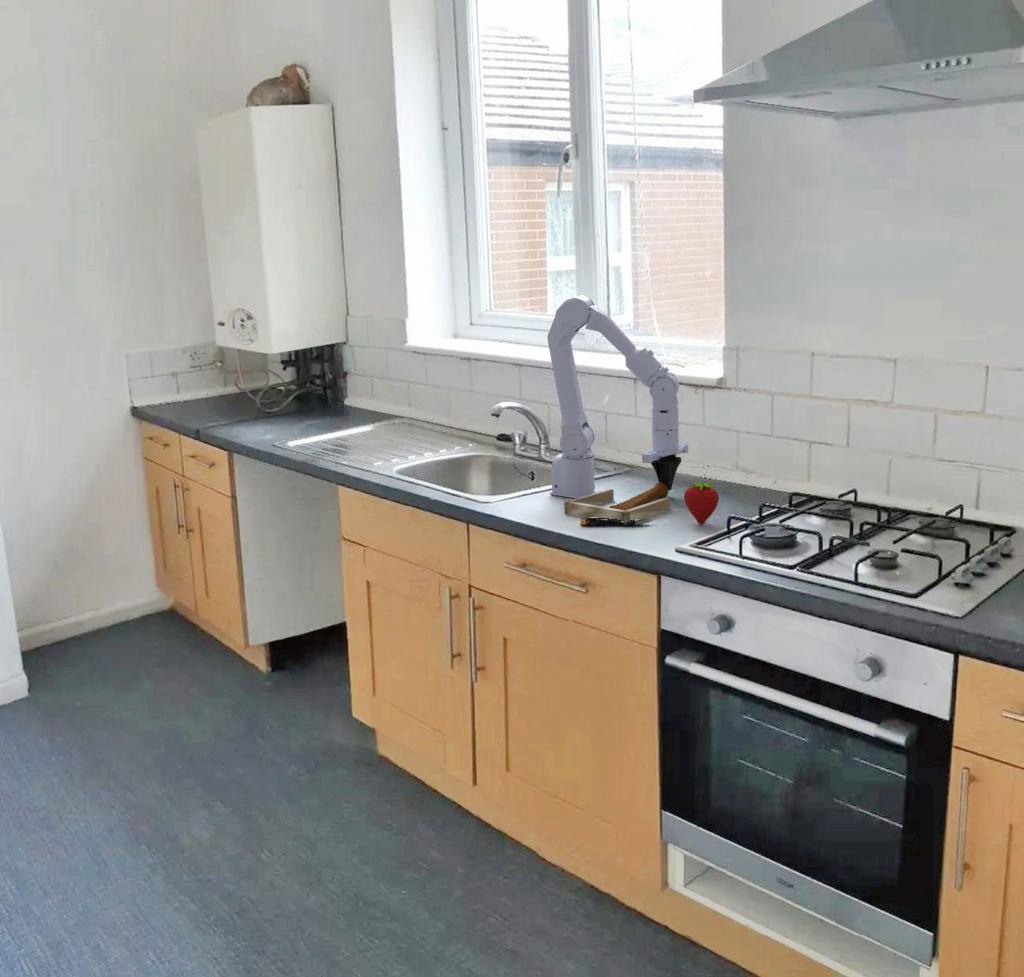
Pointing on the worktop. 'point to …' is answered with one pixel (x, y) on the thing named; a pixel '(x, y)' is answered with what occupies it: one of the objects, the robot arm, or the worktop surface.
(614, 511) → the box
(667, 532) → the worktop surface
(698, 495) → the strawberry
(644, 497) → the primitive tool
